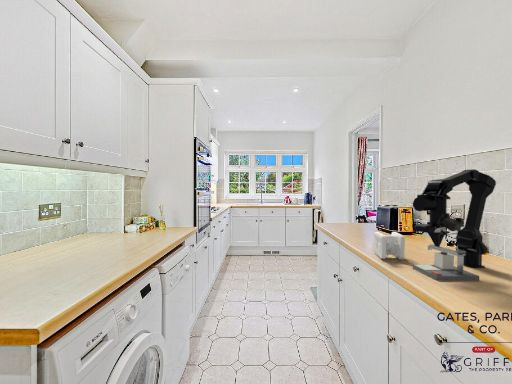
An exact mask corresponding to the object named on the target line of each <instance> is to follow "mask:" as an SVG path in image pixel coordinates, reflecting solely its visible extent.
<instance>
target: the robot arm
mask: <svg viewBox="0 0 512 384" xmlns="http://www.w3.org/2000/svg"><path fill="white" fill-rule="evenodd" d="M464 183H465V184H466V185H467V186H468V191H469V193H470V195H471V197H470V203H469V207H468V210H467V216H466V218H465V219H466V220H464V218H462V217H456V218H452V217H451V215H450V213H448V212H447V209H448V208H447V207H448V206H447V203H448V201H447V200H452V198H451V197H450V196H449V195H448V194H449V193H450V192H451V191H453V190H454V187H457V186H459V185H462V184H464ZM496 185H497V181H496V179H494V177H492V176H490V175H488V174H486V173H483V172H480V171H479V170H478V169H464V170H462V171H460V172H457V173H455V174H453V175H450V176H448V177H445V178H438V179H432V180H429V181H428V182H427V184H426V186H425V187H424V190H423V191H422V193H421V194H417V195H416V197H415V199H413V202H412V207H413V209H414V210H415V211H417V212H426V215H428V216H429V220H428V221H427V222H426V223H416V224H415V225H414V231H416V232H421V233H425V234H428V236H429V238H430V239H431V241H432V243H433V245H436V246H440V247H441V244H442V242H443V240H444V238H445V236H446V235H447V234H451V232H456V231H457V232H456V237H455V238H456V239H455V241H456V242H455V243H456V247H457V250H464V251H466V253H465V254H464V262H463V266H466V267H469V268H486V266H485V265H483V262H482V261H483V255H485V254H487V252H488V247H487V246H486V244H485V243H484V242H483V238H484V237H483V234H482V233H481V230H480V228H481V224H482V219H483V214H484V211H485V206H486V201H487V199H488V197H489V196H490V195H491V194H493V193H494V190H495V187H496ZM461 228H462V229H461ZM448 230H449V231H448Z"/></svg>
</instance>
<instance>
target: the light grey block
mask: <svg viewBox="0 0 512 384" xmlns="http://www.w3.org/2000/svg"><path fill="white" fill-rule="evenodd" d="M433 254H434V257H433V258H434V261H433V263H434V264H433V265H434V266H436V267H439V268H441V269H454V266H455V265H454V264H455V255H452V254H449V253H445V252H442V251H440V252H434V253H433Z"/></svg>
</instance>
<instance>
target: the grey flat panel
mask: <svg viewBox="0 0 512 384" xmlns="http://www.w3.org/2000/svg"><path fill="white" fill-rule="evenodd" d="M412 269H413V270H415V271H416V272H419V273H421V274H423V275H424V276H426V277H429V278H430V279H433V280H435V281H480V276H479V275H478V274H475V273H472V272H470V271H467V270H465V269H463V274H458V273H457V266H455V265H454V269H441V268H439V267H436V266H434V264H412Z"/></svg>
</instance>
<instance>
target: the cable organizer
mask: <svg viewBox="0 0 512 384" xmlns="http://www.w3.org/2000/svg"><path fill="white" fill-rule="evenodd" d="M405 242H406V239H405V236H404V235H403V234H401V233H399V232H396V231H392V232H391V234H390V235H388V234H383V233H381V232H380V231H374V232H373V253H375V254H376V256H377V257H378V258H379V259H381V260H383V259H386V258H387V257H389V255H392V256H394V257H396V258H397V259H398V260H399V261H402V260H404V259H405V252H406V251H405V249H406V248H405V246H406V243H405Z"/></svg>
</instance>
